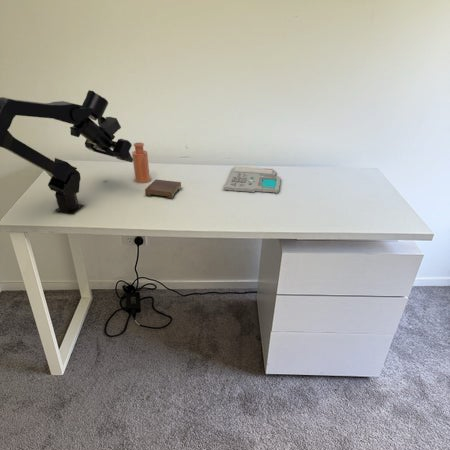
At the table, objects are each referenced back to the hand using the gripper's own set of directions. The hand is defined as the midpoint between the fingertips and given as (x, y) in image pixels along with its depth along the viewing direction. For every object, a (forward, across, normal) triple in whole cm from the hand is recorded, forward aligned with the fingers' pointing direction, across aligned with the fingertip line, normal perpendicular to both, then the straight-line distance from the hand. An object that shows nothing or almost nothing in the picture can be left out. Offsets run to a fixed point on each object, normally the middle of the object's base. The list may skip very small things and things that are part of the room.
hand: (123, 158), depth 137 cm
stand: (+10, -14, +4) cm, 18 cm away
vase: (+13, 0, +2) cm, 13 cm away
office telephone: (+32, -34, -17) cm, 50 cm away
